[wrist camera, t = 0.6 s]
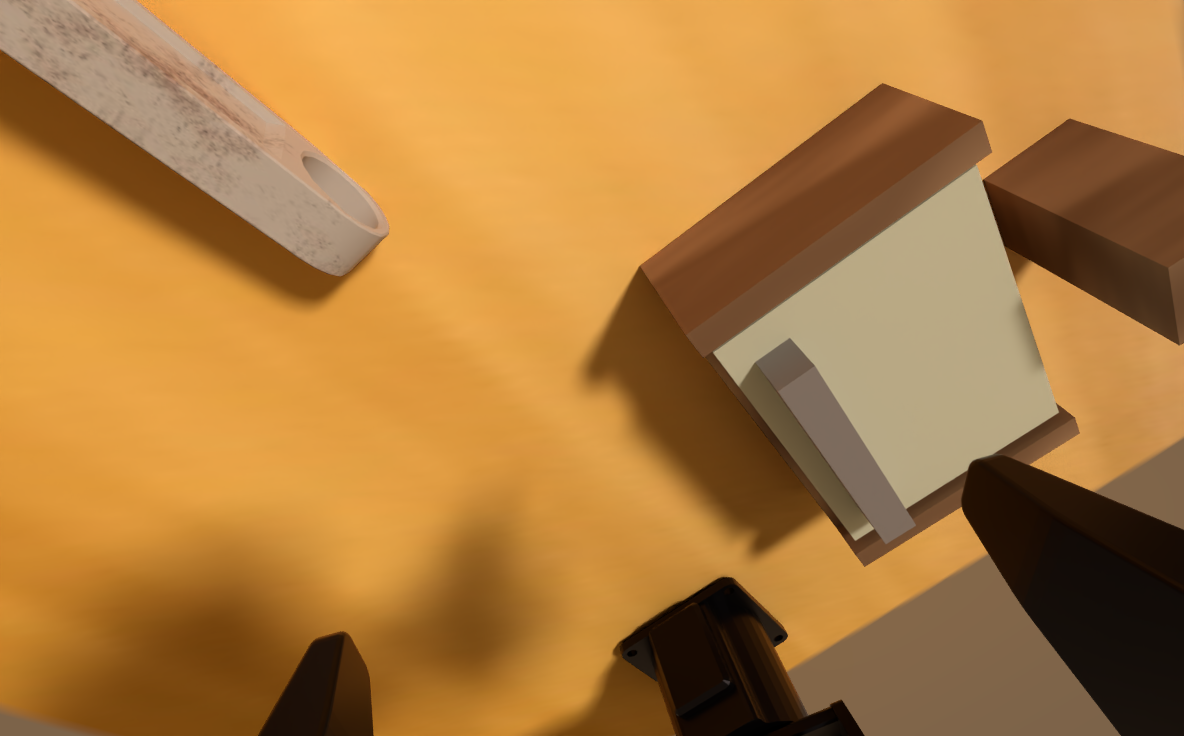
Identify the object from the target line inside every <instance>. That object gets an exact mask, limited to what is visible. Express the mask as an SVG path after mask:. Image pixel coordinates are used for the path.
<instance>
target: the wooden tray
mask: <svg viewBox="0 0 1184 736" xmlns="http://www.w3.org/2000/svg"><path fill="white" fill-rule="evenodd" d="M990 153H992V150H991V147H990V144H989V141H988V137H987V134H986V131H985V128H984V125H983V121H981V120H979V119H976V118H974V117H971V116H968V115H966V114H963V113H960V112H958V111H955V110H952V109H950V108H947V107H944V106H942V105H939V104H936V103H934V102H931V101H928V100H926V99H923V98H920V97H918V96H915V95H913V94H910V93H907V92H905V91H902V90H899V89H897V88H894V87H891V86H889V85H886V84H883V83H882V84H881V85H880V86H878V87H877V88H876V89H874V90H873V91H872V92H870V93H869V94H868V95H866V96H865V97H864V98H862V99H861V100H860V101H858V102H857V103H856V104H855V105H853V106H852V107H851V108H849V109H848V110H847V111H845V112H844V113H843V114H841V115H840V116H839V117H837V118H836V119H835V120H833V121H832V122H831V123H829V124H828V125H827V126H825V127H824V128H823V129H821V130H820V131H819V132H817V133H816V134H815V135H813V136H812V137H811V138H809V139H808V140H807V141H805V142H804V143H803V144H801V145H800V146H799V147H797V148H796V149H795V150H793V151H792V152H791V153H789V154H788V155H787V156H786V157H784V158H783V159H782V160H780V161H779V162H778V163H776V164H775V165H774V166H772V167H771V168H770V169H768V170H767V171H766V172H764V173H763V174H762V175H760V176H759V177H758V178H756V179H755V180H754V181H752V182H751V183H750V184H748V185H747V186H746V187H744V188H743V189H742V190H740V191H739V192H738V193H736V194H735V195H734V196H732V197H731V198H730V199H728V200H727V201H726V202H724V203H723V204H722V205H720V206H719V207H718V208H717V209H715V210H714V211H713V212H711V213H710V214H709V215H707V216H706V217H705V218H703V219H702V220H701V221H699V222H698V223H697V224H695V225H694V226H693V227H691V228H690V229H689V230H687V231H686V232H685V233H683V234H682V235H681V236H679V237H678V238H677V239H675V240H674V241H673V242H671V243H670V244H669V245H667V246H666V247H665V248H663V249H662V250H661V251H659V252H658V253H657V254H655V255H654V256H653V257H651V258H650V259H649V260H648V261H646V262H645V263H644V264H642V265H641V266H640V267H641V269H642V270H643V272H644V273H645V275H646V276H647V278H648V279H649V281H650V282H651V284H652V285H653V287H654V288H655V290H656V291H657V293H658V294H659V296H660V297H661V299H662V300H663V302H664V303H665V305H666V307H667V308H668V310H669V311H670V313H671V314H672V316H673V317H674V319H675V320H676V322H677V323H678V325H679V326H680V328H681V329H682V331H683V332H684V334H685V335H686V337H687V338H688V339H689V340H690V342H691V343H692V344H693V346H694V347H695V348H696V350H697V351H698V352H699V353H700V355H701V356H702V357H703V358H704V357H705V358H706V359H707V360H708V362H709V363H710V364H711V365H712V367H713V368H714V369H715V371H716V372H717V373H718V375H719V376H720V377H721V378H722V380H723V381H724V382H725V384H726V385H727V386H728V388H729V389H730V390H731V391H732V393H733V394H734V395H735V397H736V398H737V399H738V401H739V402H740V403H741V404H742V406H743V407H744V408H745V410H746V411H747V412H748V414H749V415H750V416H751V417H752V419H753V420H754V421H755V423H756V424H757V425H758V426H759V428H760V429H761V430H762V432H763V433H764V434H765V436H766V437H767V438H768V439H769V441H770V442H771V443H772V445H773V446H774V447H775V449H776V450H777V451H778V452H779V454H780V455H781V456H782V458H783V459H784V460H785V462H786V463H787V464H788V465H789V467H790V468H791V469H792V471H793V472H794V473H795V474H796V476H797V477H798V478H799V480H800V481H801V482H802V484H803V485H804V486H805V487H806V489H807V490H808V491H809V493H810V494H811V495H812V497H813V498H814V499H815V500H816V502H817V503H818V504H819V506H820V507H821V508H822V510H823V511H824V512H825V513H826V515H827V516H828V517H829V519H830V520H831V521H832V522H833V524H834V525H835V526H836V528H837V529H838V531H839V532H840V533H841V535H842V536H843V538H844V539H845V541H846V542H847V543H848V545H849V546H850V548H851V549H852V551H853V552H854V553H855V555H856V556H857V557H858V559H859V560H860V561H861V563H862V564H863V565H864V567H865V566H867V565H868V564H870V563H872V562H873V561H875V560H876V559H878V558H880V557H881V556H883V555H884V554H886V553H888V552H889V551H891V550H893V549H894V548H896V547H897V546H899V545H901V544H902V543H904V542H905V541H907V540H909V539H910V538H912V537H913V536H915V535H917V534H918V533H920V532H922V531H923V530H925V529H926V528H928V527H930V526H931V525H933V524H934V523H936V522H938V521H939V520H941V519H942V518H944V517H946V516H947V515H949V514H951V513H952V512H954V511H955V510H957V509H959V508H960V507H962V506H961V496H962V492H963V488H964V483H965V479H966V475H967V471H965V472H964V473H962V474H961V475H959V476H957V477H956V478H954V479H953V480H951V481H949V482H948V483H946V484H945V485H943V486H942V487H940V488H938V489H937V490H935V491H934V492H932V493H930V494H929V495H927V496H926V497H924V498H923V499H921V500H919V501H918V502H916V503H915V504H913V505H911V506H910V507H908V508H907V509H906V510H907V512H908V513H909V515H910V516H911V518H912V520H913V521H914V523H915V524H916V526H914V527H913V528H911V529H910V530H908V531H906V532H905V533H903V534H902V535H900V536H898V537H897V538H895V539H894V540H892V541H890V542H889V543H887V544H885V542H884V541H883V540H882V539H881V537H880V536H879V535H878V533H877V532H876V531H875V529H873V530H872V531H870V532H869V533H867V534H865V535H864V536H862V537H861V538H859V539H857V540H856V541H855V540H854V538H853V537H852V536H851V535H850V533H849V532H848V531H847V529H846V528H845V527H844V525H843V524H842V523H841V521H840V520H839V519H838V517H837V516H836V515H835V513H834V512H833V511H832V509H831V508H830V507H829V505H828V504H827V503H826V501H825V500H824V499H823V497H822V496H821V495H820V493H819V492H818V491H817V490H816V488H815V487H814V486H813V484H812V483H811V482H810V480H809V479H808V478H807V476H806V475H805V474H804V472H803V471H802V470H801V468H800V467H799V466H798V464H797V463H796V462H795V460H794V459H793V458H792V456H791V455H790V454H789V452H788V451H787V450H786V448H785V447H784V446H783V445H782V443H781V442H780V441H779V439H778V438H777V437H776V435H775V434H774V433H773V431H772V430H771V429H770V427H769V426H768V425H767V423H766V422H765V421H764V419H763V418H762V417H761V415H760V414H759V413H758V411H757V410H756V409H755V407H754V406H753V405H752V404H751V402H750V401H749V400H748V398H747V397H746V396H745V394H744V393H743V392H742V390H741V389H740V388H739V386H738V385H737V384H736V382H735V381H734V380H733V378H732V377H731V376H730V374H729V373H728V372H727V370H726V369H725V368H724V366H723V365H722V364H721V362H720V361H719V360H718V359H717V357H716V356H715V355H714V353H713V352H712V351H714V350H715V349H717V348H718V347H719V346H721V345H722V344H724V343H725V342H726V341H728V340H729V339H731V338H732V337H733V336H735V335H736V334H738V333H739V332H740V331H742V330H743V329H745V328H746V327H747V326H749V325H750V324H752V323H753V322H755V321H756V320H757V319H759V318H760V317H762V316H763V315H764V314H766V313H767V312H769V311H770V310H771V309H773V308H774V307H776V306H777V305H778V304H780V303H781V302H783V301H784V300H785V299H787V298H788V297H790V296H791V295H792V294H794V293H795V292H797V291H798V290H799V289H801V288H802V287H804V286H805V285H806V284H808V283H809V282H811V281H812V280H813V279H815V278H816V277H818V276H819V275H820V274H822V273H823V272H825V271H826V270H828V269H829V268H830V267H832V266H833V265H835V264H836V263H837V262H839V261H840V260H842V259H843V258H844V257H846V256H847V255H849V254H850V253H851V252H853V251H854V250H856V249H857V248H858V247H860V246H861V245H863V244H864V243H865V242H867V241H868V240H870V239H871V238H872V237H874V236H875V235H877V234H878V233H879V232H881V231H882V230H884V229H885V228H886V227H888V226H889V225H891V224H892V223H893V222H895V221H896V220H898V219H899V218H901V217H902V216H903V215H905V214H906V213H908V212H909V211H910V210H912V209H913V208H915V207H916V206H917V205H919V204H920V203H922V202H923V201H924V200H926V199H927V198H929V197H930V196H931V195H933V194H934V193H936V192H937V191H938V190H940V189H941V188H943V187H944V186H945V185H947V184H948V183H950V182H951V181H952V180H954V179H955V178H957V177H958V176H959V175H961V174H962V173H964V172H965V171H966V170H968V169H969V168H971V167H972V166H974V165H975V164H976V163H978V162H979V161H981V160H982V159H983V158H985V157H986V156H988V155H989V154H990ZM1056 405H1057V408H1058V411H1059V413H1057V414H1056V415H1054V416H1053V417H1051V418H1050V419H1048V420H1046V421H1045V422H1043V423H1042V424H1040V425H1038V426H1037V427H1035V428H1034V429H1032V430H1030V431H1029V432H1027V433H1026V434H1024V435H1023V436H1021V437H1019V438H1018V439H1016V440H1015V441H1013V442H1011V443H1010V444H1008V445H1007V446H1005V447H1003V448H1002V449H1000V450H999V451H997V452H996V453H994V454H1003V455H1006V456H1009V457H1011V458H1013V459H1016V460H1018V461H1021V462H1023V463H1025V464H1028V465H1029V464H1031V463H1033V462H1034V461H1036V460H1038V459H1039V458H1041V457H1042V456H1044V455H1046V454H1047V453H1049V452H1050V451H1052V450H1054V449H1055V448H1057V447H1058V446H1060V445H1062V444H1063V443H1065V442H1066V441H1068V440H1070V439H1071V438H1073V437H1075V436H1076V435H1078V434H1079V433H1080V432H1079V429H1078V426H1077V423H1076V420H1075V417H1073V416H1072V415H1071V414H1070V413H1068V412H1067V411H1066V410H1064V409H1063V408H1062V407H1060V406H1059V405H1058V404H1056Z"/></svg>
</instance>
